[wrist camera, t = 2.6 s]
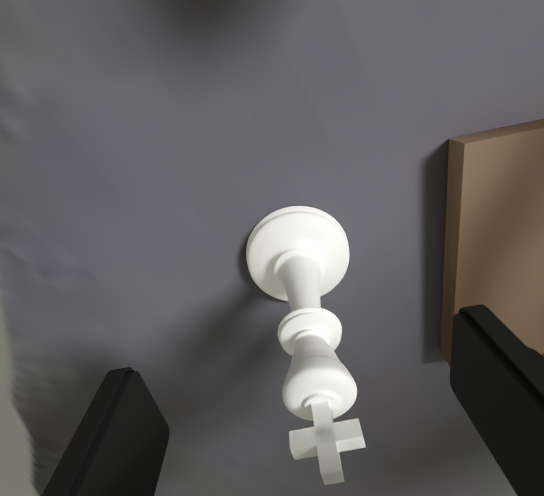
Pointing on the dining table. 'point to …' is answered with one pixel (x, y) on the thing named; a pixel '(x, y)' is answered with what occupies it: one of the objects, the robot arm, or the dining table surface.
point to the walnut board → (496, 230)
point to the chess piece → (309, 328)
